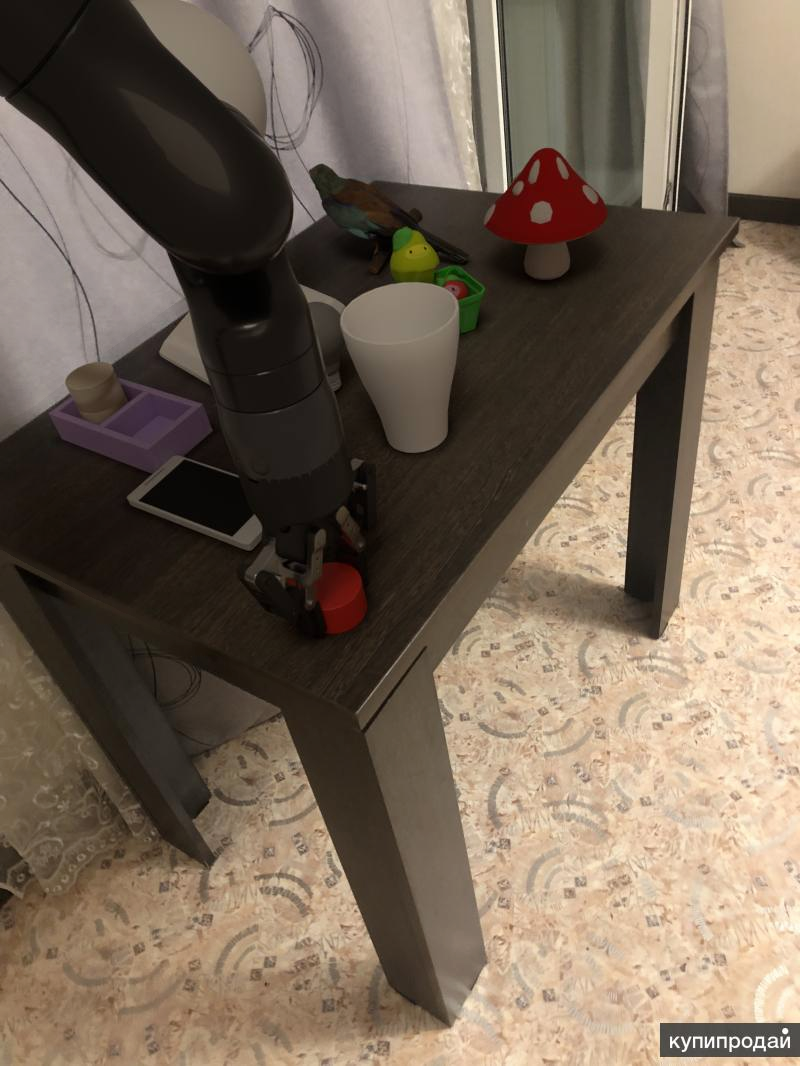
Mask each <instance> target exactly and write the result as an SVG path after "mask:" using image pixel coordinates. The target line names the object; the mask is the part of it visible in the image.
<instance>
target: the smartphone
mask: <svg viewBox="0 0 800 1066" xmlns="http://www.w3.org/2000/svg"><path fill="white" fill-rule="evenodd" d="M126 499H127V501H128V503H129V505H130V506H132V507H134V508H136V509H139V510H140V511H141V510H142V511H144V512H146V513H149V514H152V515H154V516H157V517H159V518H162V519H164V520H167V521H170V522H173V523H175V524H178V525H180V526H183V527H185V528H188V529H190V530H193V531H195V532H198V533H201V534H203V535H205V536H208V537H211V538H214V539H216V540H218V541H221V542H224V543H226V544H229V545H231V546H234V547H236V548H239V549H242V550H244V551H252V550H254V549H255V548H256V547H257V546H258V545H259V543H260V542H262V541H261V539H262V525H261V523H260V521H259V520H258V518H257V517H256V516H255V514H254V513H253V511H252V510H251V508H250V506H249V504H248V502H247V499H246V496H245V493H244V490H243V487H242V485H241V482H240V479H239V476H238V474H235V473H233V472H230V471H226V470H224V469H221V468H217V467H215V466H212V465H210V464H209V465H208V464H205V463H203V462H199V461H197V460H194V459H191V458H187V457H185V456H183V457H182V456H179V455H174V456H173V457H171V458H170V459H169V460H168V461H167V462H166V463H165V464H163V465H162V466H161V467H160V468H159V469H158V470H157V471H156V472H154V473H153V474H151V475H150V476H149V477H147V478H146V479H145V480H144V481H143V482H142V483H140V485H138V486H137V487H136V488H135V489H134V490H133V491H131V493H128V495H127V496H126Z"/></svg>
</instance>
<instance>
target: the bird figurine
mask: <svg viewBox="0 0 800 1066" xmlns="http://www.w3.org/2000/svg"><path fill="white" fill-rule="evenodd" d="M308 173H309V177H310V179H311V181H312V183H313V185H314V189H315V190H317V192H318V196H319V199H320V200H321V207H322V210H323V211H324V212H325V213H326V215H327V216H328V217H329V218H330V219H331V220H332V222H334V223H335V224H336V225H337V226H338V227H339V228H340V229H342V230H344V231H346V232H348V233H350V234H352V235H354V236H356V237H357V238H361V239H363V240H367V241H370V242H374V243H375V244H374V246H373V247H371V250H372V251H373V255H372V258H371V262H370V264H369V265H368V271H369V272H370V273H371V274H374V275H377V274H378V273H379V272H380V271H381V269H382V268H383V266H384V264H385V263H386V260H387V259H388V257H389V255H390V254H391V251H393V236H394V234H395V232H396V231H398V230H400V229H402V228H404V227H408V228H410V229H411V230H415V231H418V232H420V233H421V234H422V235H423V237H424V238H425V240H426V242H427V243H428V244H429V245H430V246H431V247H432V248H433V249H434V250H435V252H436V254H438V253H441V254H443V255H446V256H447V257H448V258H449V259H450V260H452V261H453V262H457V263H459V264H463V263H464V261H468V259H469V256H470V254H469V253H468V252H466V251H464V250H463V249H461V248H459V247H458V246H455V245H453V244H451V243H450V242H448V241H446V240H444V239H442V238H440V237H439V236H437V235H435V234H433V233H431V232H429V231H427V230H426V229H425V228H422V227H421V226H420V225H419V223H420V222H421V221H422V220H423V214H422V212H421V211H420V209H418V208H416V207H414V208H412V209H410V211H409V212H408V211H406V210H405V209H403V208H402V207H401V206H400V205H398V204H397V203H396V202H395V201H393V200H392V199H391V198H390V197H389V196H387V195H386V194H384V193H383V192H382V191H380V190H379V189H378V188H377V187H376V186H374V185H372V184H368V183H366V182H363V181H361V180H359V179H355V178H345V177H342V176H339V174H337V173H336V172H335V170H334V169H333V168H331V167H330V166H329V165H326V164H324V163H318V164H317V165H315V166H313V167H312V168H309V170H308Z"/></svg>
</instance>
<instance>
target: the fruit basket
mask: <svg viewBox="0 0 800 1066" xmlns="http://www.w3.org/2000/svg"><path fill="white" fill-rule="evenodd" d="M439 265H440V258H439V256H438V253H436V252H435V250H434V249H433V248H432V247H431V246H430V245H429V244H428V243H427V242H426V240H425V238H424V237H423V235H422V234H421V233H420V232H418V231H415V230H411V229H410V228H408V227H404V228H402V229H400V230H398V231H396V232H395V234H394V236H393V248H392V254H391V256H390V262H389V270H390V274H391V276H392V279H393V280H394V282H395V284H397V283H404V282H420V283H428V284H433V285H437V286H440V287H443V288H445V289H446V290H448V291H450V292H451V293H452V294H453V295H454V296H455V298H456V299H457V300H458V305H459V335H460V334H462V335H463V334H465V333H468V332H471V331H473V330H476V327H477V322H478V319H479V318H478V317H479V313H480V308H481V304H482V300H483V297H484V295H485V291H486V287H485V286H484V285H483V284H481V282H479V281H477V279H476V278H474V277H472V276H471V274H469V273H468V272H467V271H466V270H465V269H463V268H462V267H461V266H458V265H448V266H446V267H443V268H441V269H438V270H435V269H436V268H437V267H438V266H439Z"/></svg>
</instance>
